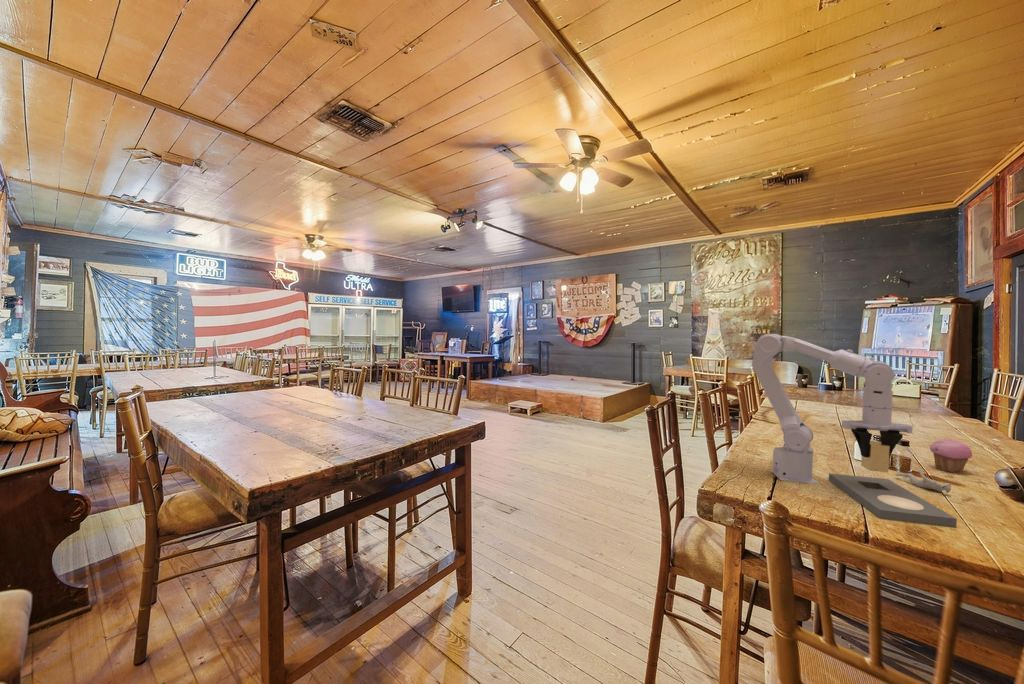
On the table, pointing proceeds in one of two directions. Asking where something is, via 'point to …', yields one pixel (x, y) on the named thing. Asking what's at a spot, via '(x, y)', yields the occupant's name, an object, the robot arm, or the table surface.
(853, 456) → the table surface
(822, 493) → the table surface
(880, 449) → the brass post
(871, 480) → the board
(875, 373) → the robot arm
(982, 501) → the table surface
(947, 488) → the soldier figure
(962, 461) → the cupcake
